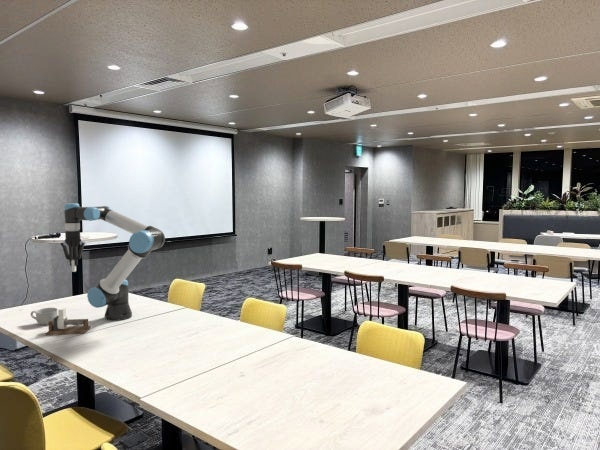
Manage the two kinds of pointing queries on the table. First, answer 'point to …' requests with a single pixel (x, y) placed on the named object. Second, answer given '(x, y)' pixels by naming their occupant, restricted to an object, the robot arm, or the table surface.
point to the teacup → (45, 315)
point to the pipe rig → (69, 327)
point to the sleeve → (61, 318)
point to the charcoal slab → (55, 323)
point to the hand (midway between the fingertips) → (74, 271)
